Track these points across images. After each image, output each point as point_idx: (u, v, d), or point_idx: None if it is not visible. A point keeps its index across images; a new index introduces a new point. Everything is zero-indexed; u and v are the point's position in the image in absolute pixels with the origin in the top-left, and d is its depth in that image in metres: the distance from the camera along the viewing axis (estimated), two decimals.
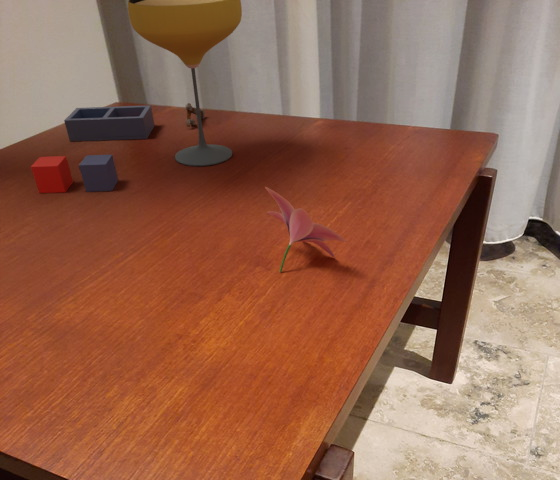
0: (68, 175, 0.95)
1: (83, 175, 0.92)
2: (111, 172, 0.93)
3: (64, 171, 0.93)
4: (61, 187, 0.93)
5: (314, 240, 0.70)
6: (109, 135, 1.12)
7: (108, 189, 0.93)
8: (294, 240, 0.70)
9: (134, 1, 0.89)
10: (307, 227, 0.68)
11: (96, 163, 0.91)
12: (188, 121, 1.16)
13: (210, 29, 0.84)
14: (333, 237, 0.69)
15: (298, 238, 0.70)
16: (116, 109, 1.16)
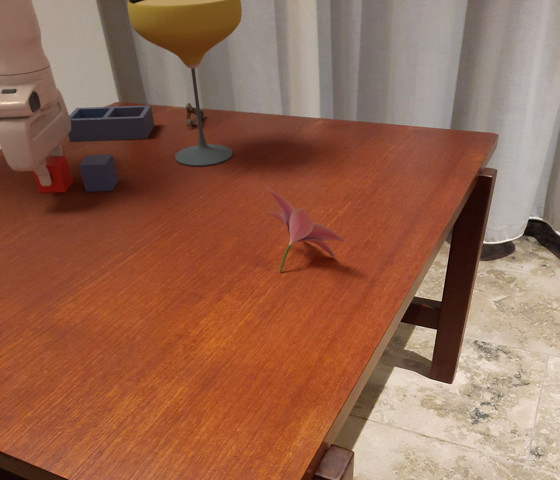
0: (68, 175, 0.95)
1: (83, 175, 0.92)
2: (111, 172, 0.93)
3: (64, 171, 0.93)
4: (61, 187, 0.93)
5: (314, 240, 0.70)
6: (109, 135, 1.12)
7: (108, 189, 0.93)
8: (294, 240, 0.70)
9: (134, 1, 0.89)
10: (307, 227, 0.68)
11: (96, 163, 0.91)
12: (188, 121, 1.16)
13: (210, 29, 0.84)
14: (333, 237, 0.69)
15: (298, 238, 0.70)
16: (116, 109, 1.16)
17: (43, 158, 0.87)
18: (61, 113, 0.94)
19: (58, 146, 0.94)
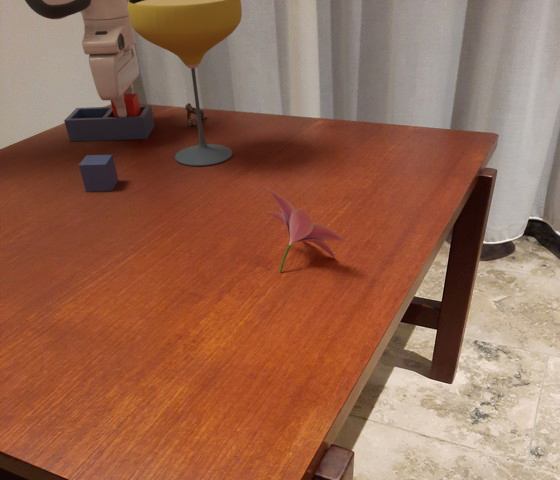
0: (139, 110, 1.14)
1: (83, 175, 0.92)
2: (111, 172, 0.93)
3: (136, 106, 1.13)
4: None
5: (314, 240, 0.70)
6: (109, 135, 1.12)
7: (108, 189, 0.93)
8: (294, 240, 0.70)
9: (134, 1, 0.89)
10: (307, 227, 0.68)
11: (96, 163, 0.91)
12: (188, 121, 1.16)
13: (210, 29, 0.84)
14: (333, 237, 0.69)
15: (298, 238, 0.70)
16: None
17: (123, 91, 1.06)
18: (133, 58, 1.13)
19: (130, 86, 1.13)
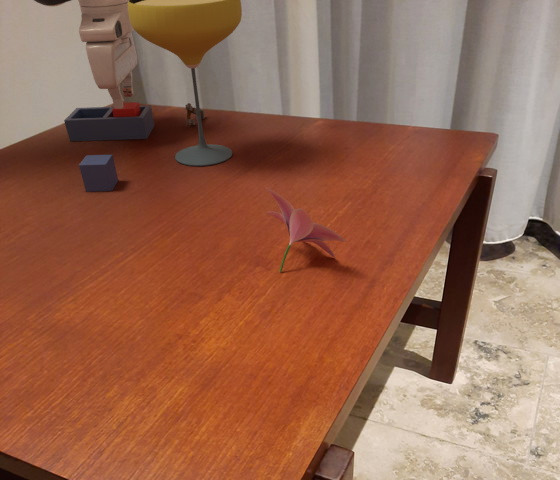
0: None
1: (83, 175, 0.92)
2: (111, 172, 0.93)
3: (138, 114, 1.14)
4: None
5: (314, 240, 0.70)
6: (109, 135, 1.12)
7: (108, 189, 0.93)
8: (294, 240, 0.70)
9: (134, 1, 0.89)
10: (307, 227, 0.68)
11: (96, 163, 0.91)
12: (188, 121, 1.16)
13: (210, 29, 0.84)
14: (333, 237, 0.69)
15: (298, 238, 0.70)
16: None
17: (121, 80, 1.05)
18: (131, 47, 1.12)
19: (130, 74, 1.13)
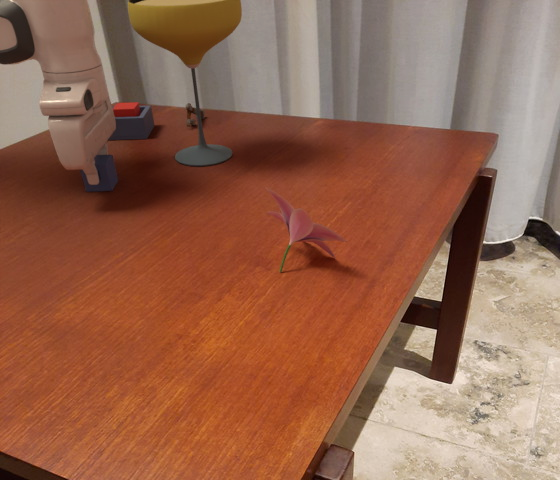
0: None
1: (83, 175, 0.92)
2: (111, 172, 0.93)
3: (138, 114, 1.14)
4: None
5: (314, 240, 0.70)
6: None
7: (108, 189, 0.93)
8: (294, 240, 0.70)
9: (134, 1, 0.89)
10: (307, 227, 0.68)
11: (96, 163, 0.91)
12: (188, 121, 1.16)
13: (210, 29, 0.84)
14: (333, 237, 0.69)
15: (298, 238, 0.70)
16: None
17: (93, 156, 0.86)
18: (108, 111, 0.93)
19: (104, 145, 0.94)
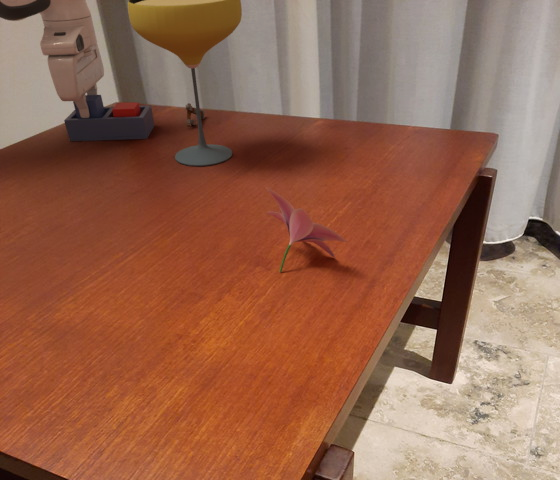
0: None
1: (77, 110, 1.11)
2: (100, 109, 1.13)
3: (138, 114, 1.14)
4: None
5: (314, 240, 0.70)
6: (109, 135, 1.12)
7: None
8: (294, 240, 0.70)
9: (134, 1, 0.89)
10: (307, 227, 0.68)
11: (87, 100, 1.11)
12: (188, 121, 1.16)
13: (210, 29, 0.84)
14: (333, 237, 0.69)
15: (298, 238, 0.70)
16: None
17: (84, 92, 1.06)
18: (97, 59, 1.13)
19: (94, 86, 1.14)
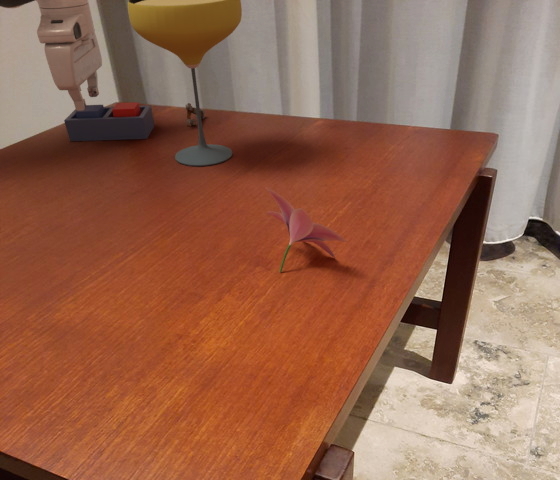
0: None
1: None
2: None
3: (138, 114, 1.14)
4: None
5: (314, 240, 0.70)
6: (109, 135, 1.12)
7: None
8: (294, 240, 0.70)
9: (134, 1, 0.89)
10: (307, 227, 0.68)
11: (90, 110, 1.12)
12: (188, 121, 1.16)
13: (210, 29, 0.84)
14: (333, 237, 0.69)
15: (298, 238, 0.70)
16: None
17: (82, 81, 1.05)
18: (94, 48, 1.12)
19: (94, 74, 1.14)
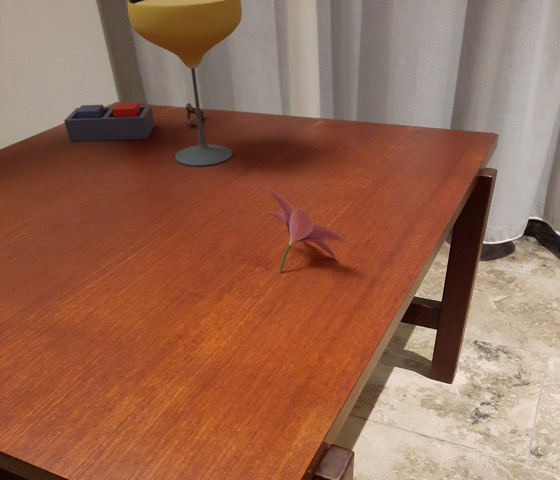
0: None
1: None
2: None
3: (138, 114, 1.14)
4: None
5: (314, 240, 0.70)
6: (109, 135, 1.12)
7: None
8: (294, 240, 0.70)
9: (134, 1, 0.89)
10: (307, 227, 0.68)
11: (90, 110, 1.12)
12: (188, 121, 1.16)
13: (210, 29, 0.84)
14: (333, 237, 0.69)
15: (298, 238, 0.70)
16: None
17: None
18: None
19: None
